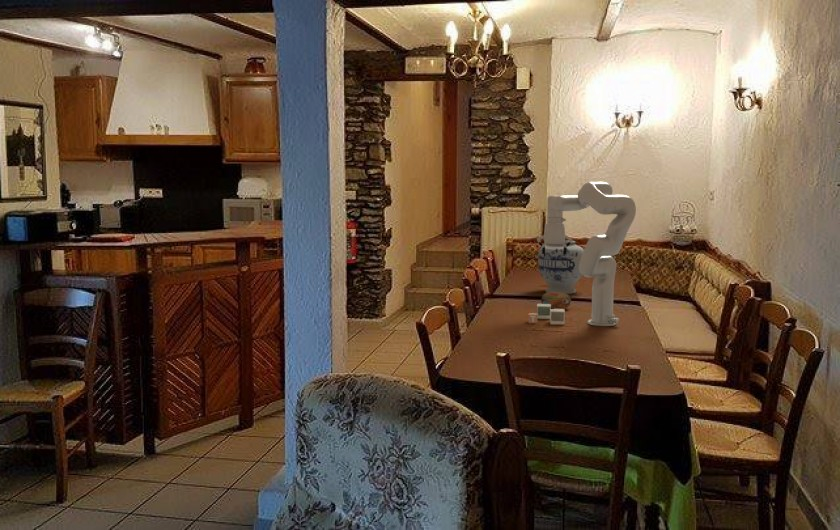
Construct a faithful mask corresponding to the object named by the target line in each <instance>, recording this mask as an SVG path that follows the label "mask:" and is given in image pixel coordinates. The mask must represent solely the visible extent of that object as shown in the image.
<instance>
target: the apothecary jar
mask: <svg viewBox="0 0 840 530" xmlns="http://www.w3.org/2000/svg"><path fill="white" fill-rule="evenodd" d="M568 242H569V240H568V239H565V244H567V243H568ZM563 251H564V246H563V244H546V245H545V256H544V254H542V247H540V249H539V251H538V256H537V257H538V259H537V261H538V262H537V263H538V270H539V273H540V276H541V277H542V278H543V280H544V282H545V283H546V285H547V286H548V287H547V288H546V289H545V293H547V292H554V293H566V294H568V295H572V294H576V292H577V290H576V289H575V288H574V287H575V285H576V283H578V282H579V280H580V278H582V276H583V275H582V274H581V273H580V270H579V264H580V260H581V257H582V255H583V252H584V248H583V247H581V246H579V245H577V244H576V241H575V240H572V242H571V244H570V245H569V246H568V247H567V251H566V254H565V256H563Z"/></svg>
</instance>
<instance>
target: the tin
mask: <svg viewBox="0 0 840 530" xmlns="http://www.w3.org/2000/svg"><path fill="white" fill-rule="evenodd" d="M571 303H572V298H571V297H570V294H566V293H554V292H545V293H543V294H542V296H541V304H551V308H554V309H564V310H566V309H568V308H569V307H570V306H571Z"/></svg>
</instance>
